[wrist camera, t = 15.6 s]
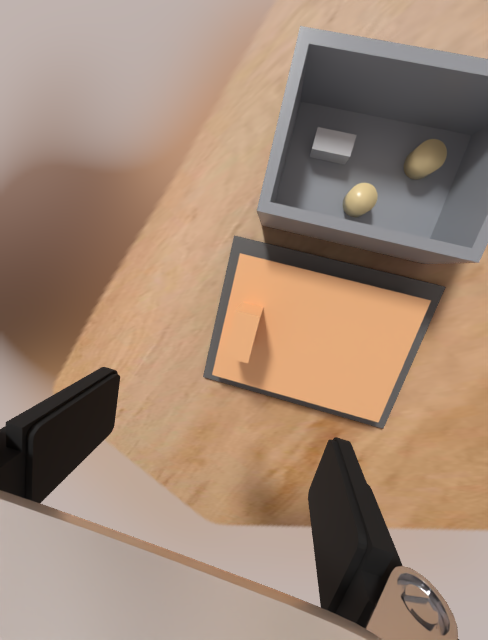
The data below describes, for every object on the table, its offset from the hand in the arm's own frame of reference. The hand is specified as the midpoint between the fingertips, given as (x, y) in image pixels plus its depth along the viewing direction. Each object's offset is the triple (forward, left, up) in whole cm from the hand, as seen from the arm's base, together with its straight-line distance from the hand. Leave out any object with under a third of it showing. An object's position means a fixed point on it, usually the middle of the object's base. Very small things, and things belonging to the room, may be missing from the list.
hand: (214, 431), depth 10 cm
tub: (-8, -19, -23) cm, 31 cm away
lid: (-7, 0, -23) cm, 24 cm away
